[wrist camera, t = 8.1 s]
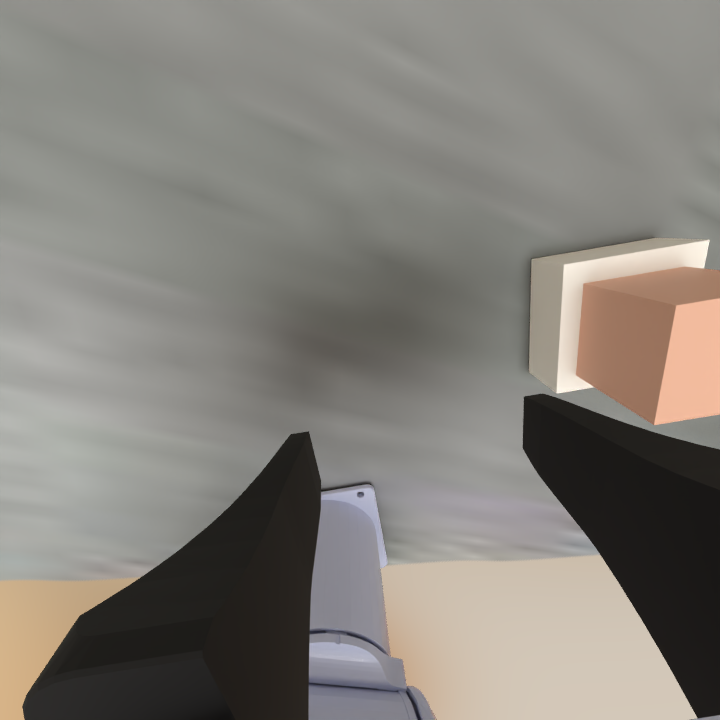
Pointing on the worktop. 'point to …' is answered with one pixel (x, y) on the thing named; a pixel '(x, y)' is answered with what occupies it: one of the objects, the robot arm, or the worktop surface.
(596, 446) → the robot arm
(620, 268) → the cream plinth
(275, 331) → the worktop surface
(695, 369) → the terracotta cube
